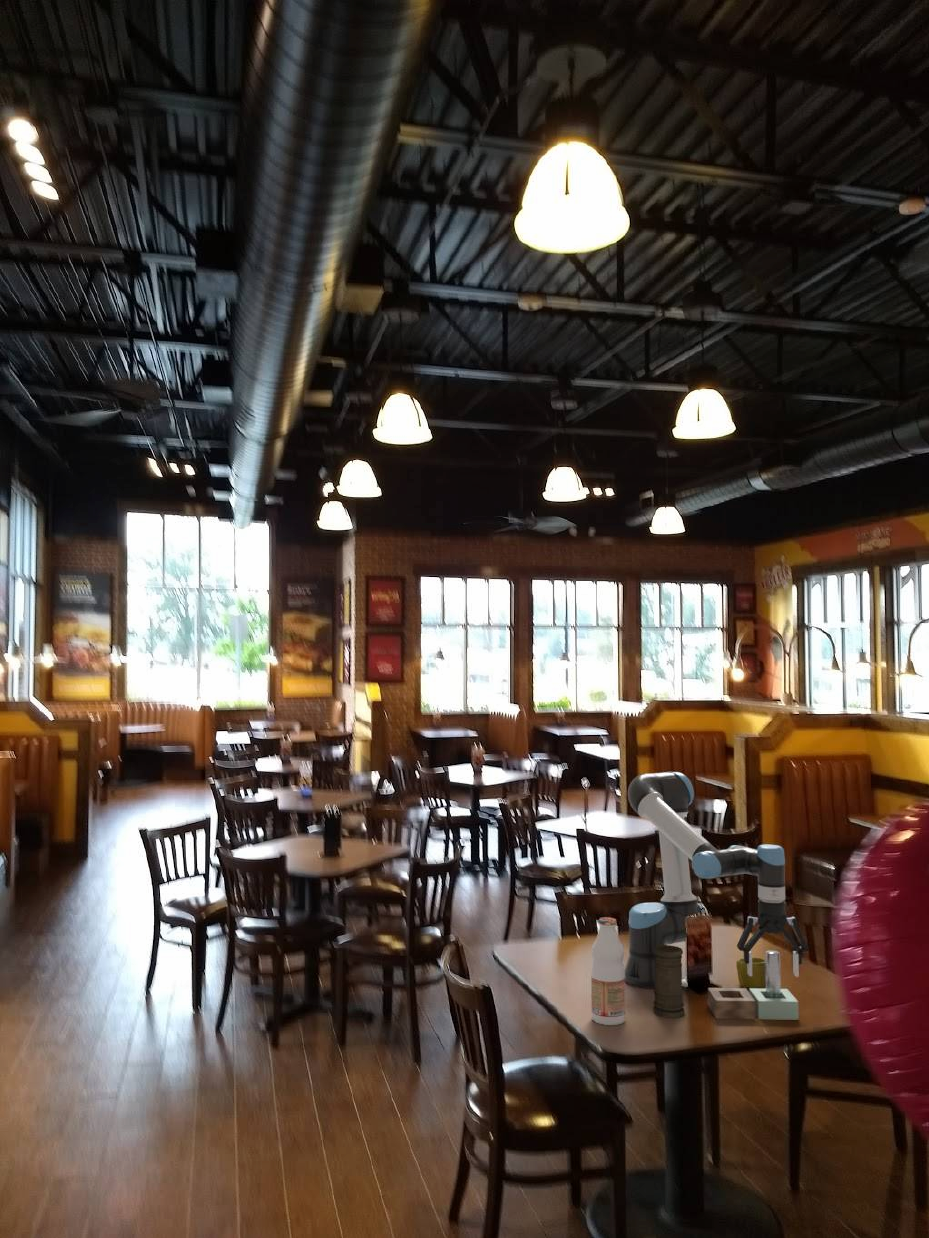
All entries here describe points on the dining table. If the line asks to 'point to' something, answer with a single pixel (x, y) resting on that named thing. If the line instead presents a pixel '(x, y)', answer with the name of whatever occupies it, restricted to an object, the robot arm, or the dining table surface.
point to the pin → (772, 974)
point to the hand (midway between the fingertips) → (772, 975)
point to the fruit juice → (608, 975)
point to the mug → (757, 973)
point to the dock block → (775, 1005)
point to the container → (668, 981)
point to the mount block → (731, 1003)
